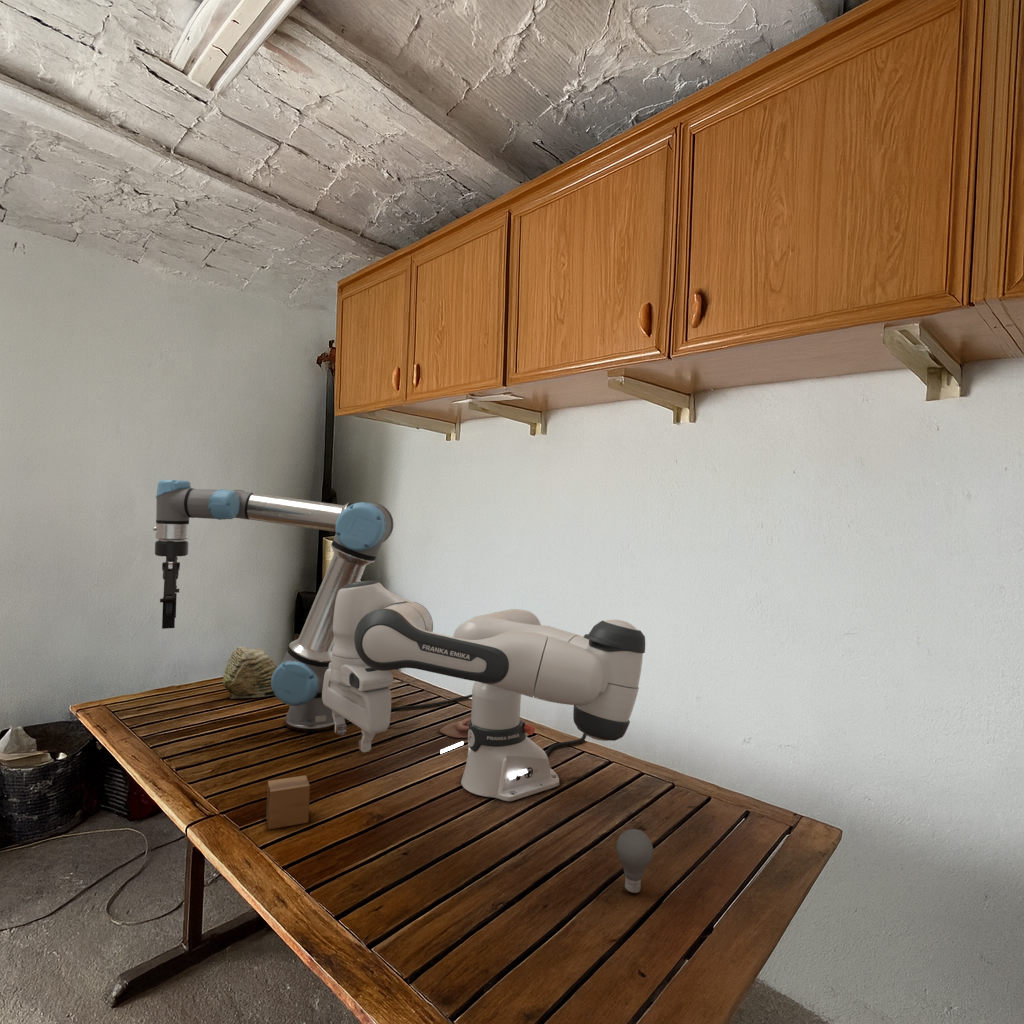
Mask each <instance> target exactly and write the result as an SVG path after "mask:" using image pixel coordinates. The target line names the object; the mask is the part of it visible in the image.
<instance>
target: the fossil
mask: <svg viewBox="0 0 1024 1024" xmlns="http://www.w3.org/2000/svg"><path fill="white" fill-rule="evenodd" d="M276 667H277V665H276V663H275V662H274V660H273V659H272V658H271V657H270V656H269V655H268V654H267V653H266V652H265V650H264V649H263V648H260V647H258V648H251V647H247V646H246V647H245V646H238V647H237V648H236V649H235V650H233V651H232V653H231V656H230V657H229V659H228V660H227V663H226V666H225V668H224V671H223V675H222V676H223V677H222V685H223V687H224V688H225V690H226V691H228V693H229V698H230V699H250V698H264V697H271V696H275V694H274V692H273V690H272V687H271V678H272V675H273V672H274V671H275V669H276Z"/></svg>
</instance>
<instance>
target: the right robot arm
mask: <svg viewBox="0 0 1024 1024" xmlns="http://www.w3.org/2000/svg"><path fill="white" fill-rule="evenodd" d="M333 633H334V638H335V640H334V645H333V648H332V656H331V662H330V663H329V669H327V670H326V672H325V675H324V681H323V690H322V701H323V704H324V705H325V706H327V707H328V708H330V709H331V710H332V716H333V720H334V724H335V728H334V734H336V735H337V736H339V737H341V736H344V735H346V734H347V732H348V731H347V729H348V725H347V724H346V720H347V721H349V722H351V723H352V724H353V725H355V726H357V727H358V728H359V729H361V730H360V731H361V732H360V733H361V734H362V736H361V739H360V740H358V745H357V746H358V750H359V751H360V752H362V753H368V752H370V751H371V750H372V742H373V739H374V737H375V735H376V734H380V733H383V732H387V731H388V728H390V723H391V718H392V717H391V715H392V710H391V708H392V691H391V689H390V687H393V686H394V675H393V673H392V672H391V671H393V670H399V669H400V670H401V669H414V670H420V671H424V672H429V673H433V674H438V675H443V676H447V677H452V678H456V679H461V680H466V681H472V682H474V684H473V686H472V690H471V694H472V697H471V710H470V717H471V719H470V720H469V730H468V738H467V745H468V751H467V757H466V762H465V767H464V771H463V775H462V776H461V780H460V784H461V786H462V788H463V789H465V790H466V791H467V792H469V793H471V794H474V795H476V796H480V797H486V798H494V799H498V800H501V801H504V802H513V801H517V800H520V799H523V798H526V797H529V796H532V795H535V794H538V793H542V792H544V791H547V790H552V789H553V788H556V787H559V786H560V777H559V775H558V773H556V772H555V771H554V770H553V769H552V768H551V766H550V761H549V757H548V756H549V754H550V753H551V752H552V750H555V749H557V748H559V747H566V746H573V745H578V744H581V743H583V742H584V741H585V740H586V738H587V737H589V738H591V739H593V740H597V741H601V742H607V741H609V742H610V741H614V742H615V741H617V740H619V739H622V738H623V737H624V736H625V734H626V733H627V730H628V729H629V726H630V723H631V721H630V718H631V715H632V712H633V709H634V707H635V704H636V701H637V697H638V694H639V689H640V687H639V685H640V680H641V675H642V669H643V668H642V666H643V660H644V659H643V657H644V654H645V653H646V636H645V634H644V633H643V632H642V630H640V629H638V628H637V627H635V626H634V625H633V624H631V623H630V622H627V621H625V620H623V619H622V620H621V619H607V620H601V621H598V622H597V623H595V624H594V625H593V627H592V628H591V630H590V631H589V632H588V634H587V633H585V634H584V635H580V634H577V633H573V632H571V631H567V630H563V629H560V628H556V627H554V626H550V625H542V623H541V622H540V619H539V618H538V616H537V615H536V614H534V612H532V611H529V610H525V609H519V608H510V609H505V610H500V611H494V612H491V613H485V614H481V615H476V616H473V617H471V618H470V619H467V620H465V621H464V622H462V623H461V624H459V625H458V626H457V627H456V629H455V630H454V631H453V635H451V636H450V635H446V634H443V633H438V632H434V622H433V618H432V614H431V613H430V612H429V610H428V609H427V607H425V605H423V604H421V603H419V602H417V601H412V600H410V599H407V598H404V597H401V596H400V595H397V594H395V593H393V592H392V591H390V590H388V589H387V588H385V587H384V586H383V584H382V583H381V582H379V581H377V580H362V581H361V580H360V581H359V582H356V583H351V584H347V585H345V586H343V587H342V588H341V589H340V590H339V591H338V594H337V597H336V602H335V608H334V617H333ZM522 696H526V697H529V698H533V699H537V700H541V701H544V702H549V703H555V704H561V705H569V706H573V713H572V715H573V716H572V717H573V723H574V725H575V726H576V728H577V730H579V731H580V732H582V733H583V734H582V736H581V737H580V738H578V739H574V740H569V741H562V742H557V743H554V744H551V745H550V746H548V748H547V749H546V750H544V749H543V748H542V747H540V746H539V745H538V744H537V743H536V742H534V741H533V740H532V739H531V738H530V737H528V736H527V735H529V736H532V735H533V734H534V733H535V732H536V728H535V727H534V726H533V725H531V724H530V723H527V724H526V722H525V721H523V720H522V719H520V718H521V704H522V703H521V702H522ZM526 734H527V735H526ZM461 746H464V741H463V740H462V741H460V742H457V743H455V744H452V745H450V746H447V747H445V748H442V749H440V754H443V753H446V752H448V751H452V750H453V749H456V748H458V747H461Z"/></svg>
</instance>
